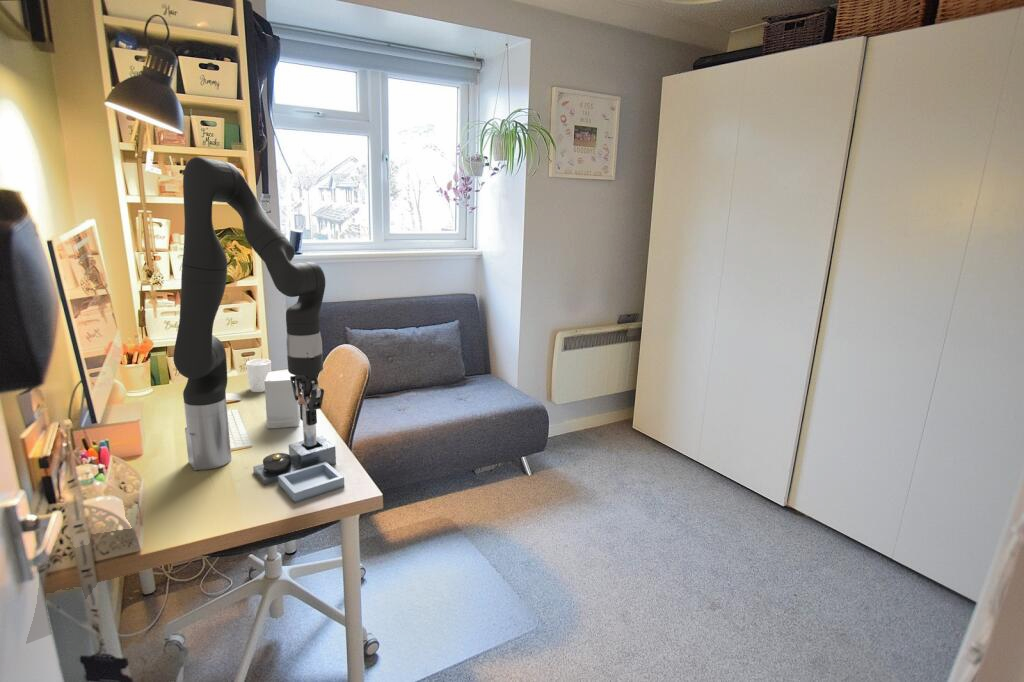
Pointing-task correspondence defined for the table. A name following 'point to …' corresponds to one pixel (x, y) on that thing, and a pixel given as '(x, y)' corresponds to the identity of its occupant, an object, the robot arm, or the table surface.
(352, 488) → the table surface
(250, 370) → the white cup
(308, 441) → the pin
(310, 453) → the block
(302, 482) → the parts tray
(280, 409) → the supplement box
